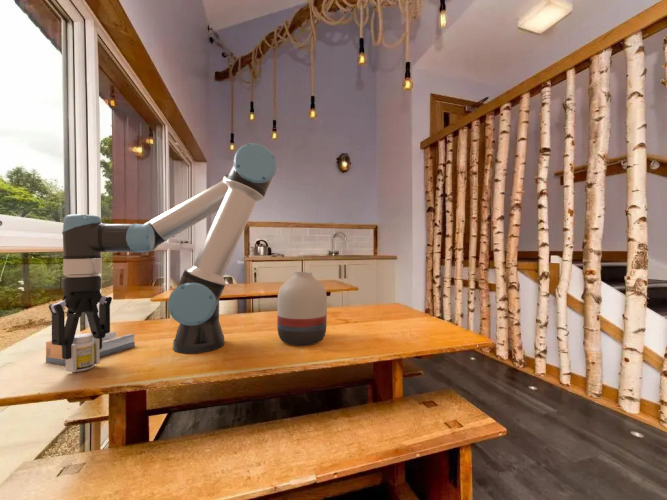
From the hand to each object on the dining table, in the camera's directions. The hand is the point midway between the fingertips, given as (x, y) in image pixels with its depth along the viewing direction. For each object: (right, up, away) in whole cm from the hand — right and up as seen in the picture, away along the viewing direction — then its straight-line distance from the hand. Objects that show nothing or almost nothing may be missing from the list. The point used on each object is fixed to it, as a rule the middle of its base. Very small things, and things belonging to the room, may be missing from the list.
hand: (83, 366), depth 77 cm
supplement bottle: (0, -1, 0) cm, 1 cm away
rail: (-7, -1, +12) cm, 14 cm away
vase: (+53, -2, +27) cm, 60 cm away
